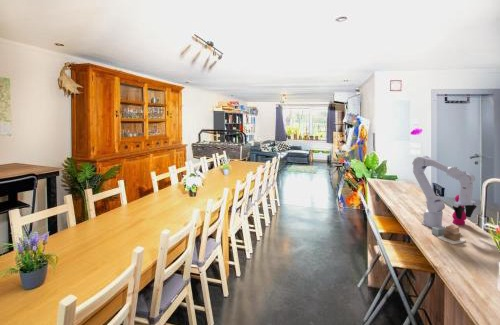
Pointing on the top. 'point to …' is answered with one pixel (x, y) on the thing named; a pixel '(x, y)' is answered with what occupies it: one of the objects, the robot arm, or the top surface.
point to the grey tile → (451, 240)
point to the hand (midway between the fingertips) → (463, 217)
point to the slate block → (438, 230)
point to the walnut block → (452, 235)
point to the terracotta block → (453, 228)
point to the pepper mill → (461, 221)
